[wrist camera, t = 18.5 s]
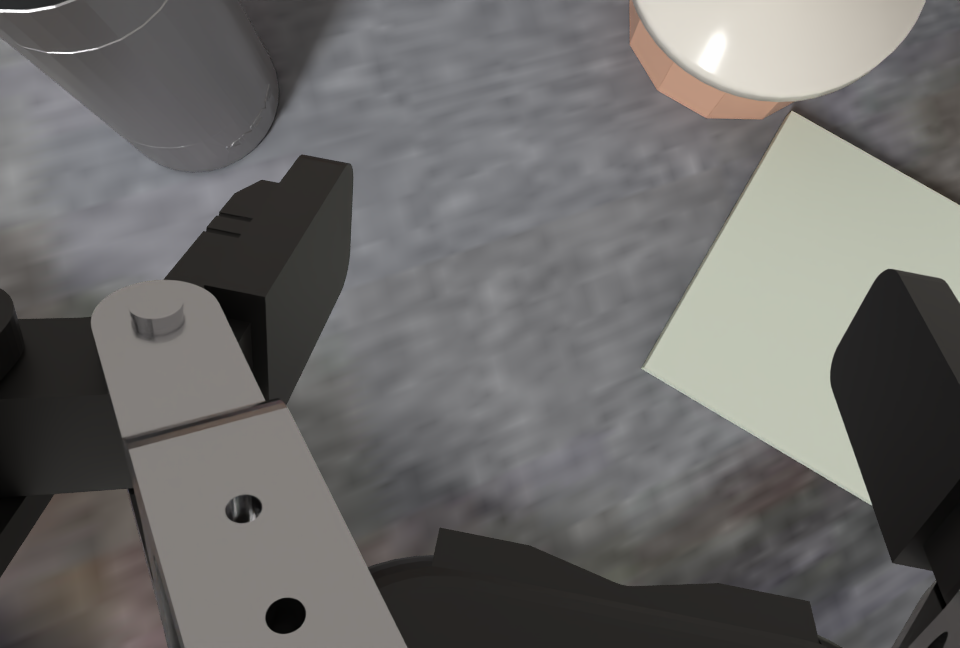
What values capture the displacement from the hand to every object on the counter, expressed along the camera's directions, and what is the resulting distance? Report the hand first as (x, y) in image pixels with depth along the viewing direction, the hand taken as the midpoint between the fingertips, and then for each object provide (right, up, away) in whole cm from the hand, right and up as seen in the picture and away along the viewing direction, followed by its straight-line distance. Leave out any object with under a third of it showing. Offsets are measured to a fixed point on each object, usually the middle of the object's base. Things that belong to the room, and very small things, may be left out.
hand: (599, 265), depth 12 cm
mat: (+19, 0, +31) cm, 36 cm away
